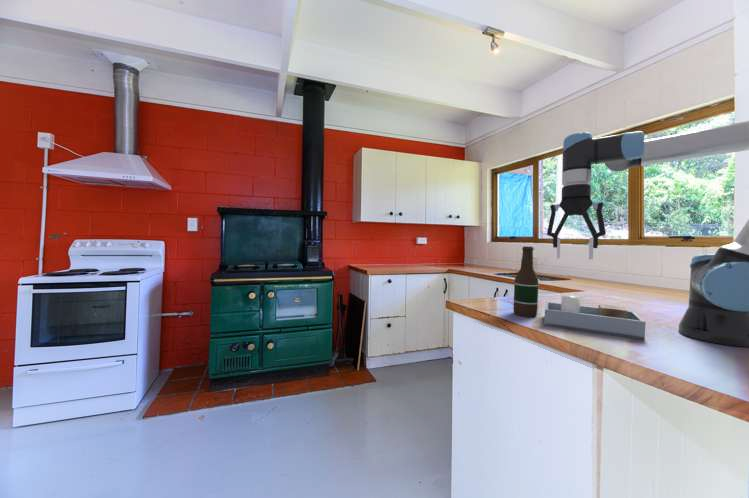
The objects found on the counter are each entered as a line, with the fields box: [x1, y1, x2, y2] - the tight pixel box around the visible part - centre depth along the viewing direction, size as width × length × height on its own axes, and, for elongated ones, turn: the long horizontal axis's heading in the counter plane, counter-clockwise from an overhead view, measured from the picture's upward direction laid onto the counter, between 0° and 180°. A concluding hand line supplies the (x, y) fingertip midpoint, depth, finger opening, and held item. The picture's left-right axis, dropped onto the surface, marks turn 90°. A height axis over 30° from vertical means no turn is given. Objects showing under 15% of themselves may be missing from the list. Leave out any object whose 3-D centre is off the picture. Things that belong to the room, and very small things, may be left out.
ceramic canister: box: [560, 294, 581, 313], centre depth 96 cm, size 5×5×8 cm
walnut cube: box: [598, 303, 628, 319], centre depth 91 cm, size 6×6×6 cm
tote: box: [543, 301, 646, 341], centre depth 93 cm, size 24×14×5 cm, turn 59°
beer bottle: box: [513, 246, 539, 318], centre depth 107 cm, size 8×8×24 cm
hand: (574, 258), depth 95 cm, fingers open, 8 cm apart
